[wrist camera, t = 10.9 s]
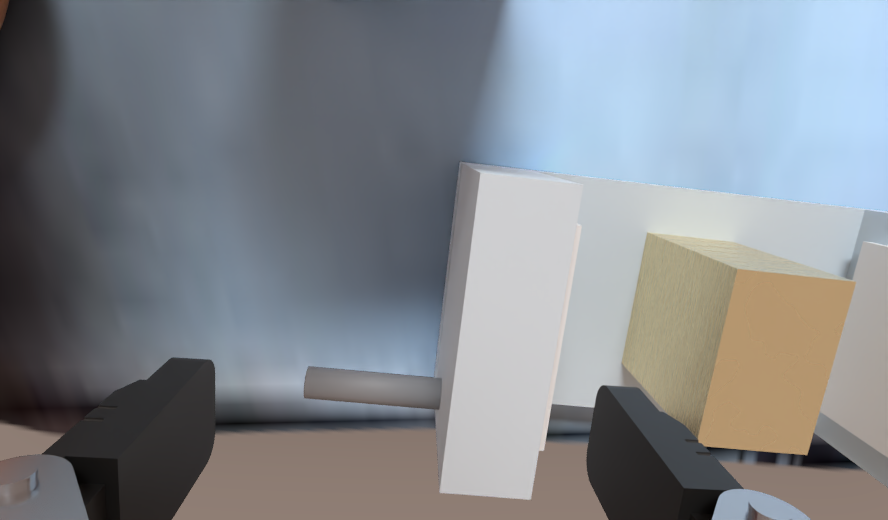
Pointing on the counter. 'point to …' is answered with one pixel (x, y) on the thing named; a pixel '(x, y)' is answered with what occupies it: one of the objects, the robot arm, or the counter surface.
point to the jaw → (490, 333)
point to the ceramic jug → (3, 10)
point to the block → (735, 340)
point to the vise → (750, 224)
